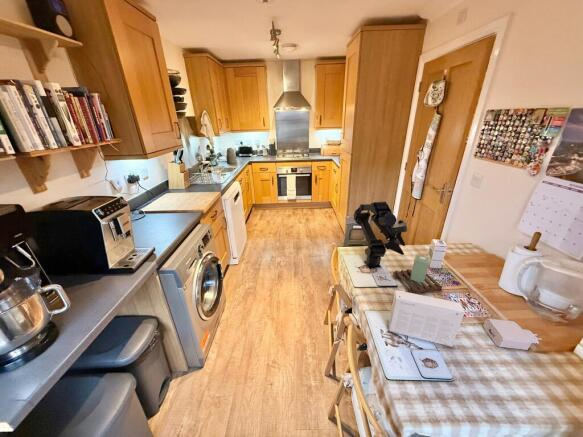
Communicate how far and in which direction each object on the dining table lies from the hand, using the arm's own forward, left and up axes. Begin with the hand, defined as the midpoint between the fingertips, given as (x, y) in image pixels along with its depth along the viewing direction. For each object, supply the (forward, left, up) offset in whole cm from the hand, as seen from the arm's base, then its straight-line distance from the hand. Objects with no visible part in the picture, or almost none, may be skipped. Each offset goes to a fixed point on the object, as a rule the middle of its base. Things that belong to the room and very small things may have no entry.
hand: (404, 249), depth 114 cm
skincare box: (-15, -34, -14) cm, 40 cm away
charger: (+17, -43, -14) cm, 48 cm away
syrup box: (+22, +2, -14) cm, 26 cm away
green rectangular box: (+3, -9, -11) cm, 14 cm away
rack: (+3, -9, -14) cm, 17 cm away
